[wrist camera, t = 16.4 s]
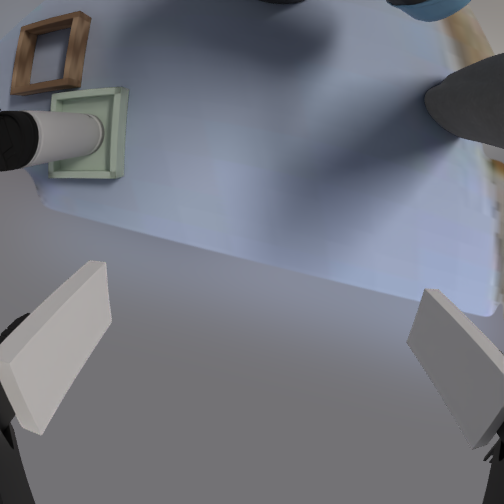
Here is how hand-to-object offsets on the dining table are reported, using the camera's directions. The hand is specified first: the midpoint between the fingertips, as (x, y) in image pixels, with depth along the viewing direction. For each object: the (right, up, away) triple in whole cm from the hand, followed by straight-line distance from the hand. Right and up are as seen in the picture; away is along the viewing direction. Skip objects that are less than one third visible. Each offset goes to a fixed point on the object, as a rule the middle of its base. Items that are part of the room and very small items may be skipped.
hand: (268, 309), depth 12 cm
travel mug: (-25, +20, +29) cm, 43 cm away
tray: (-25, +20, +30) cm, 44 cm away
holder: (-32, +33, +25) cm, 52 cm away
